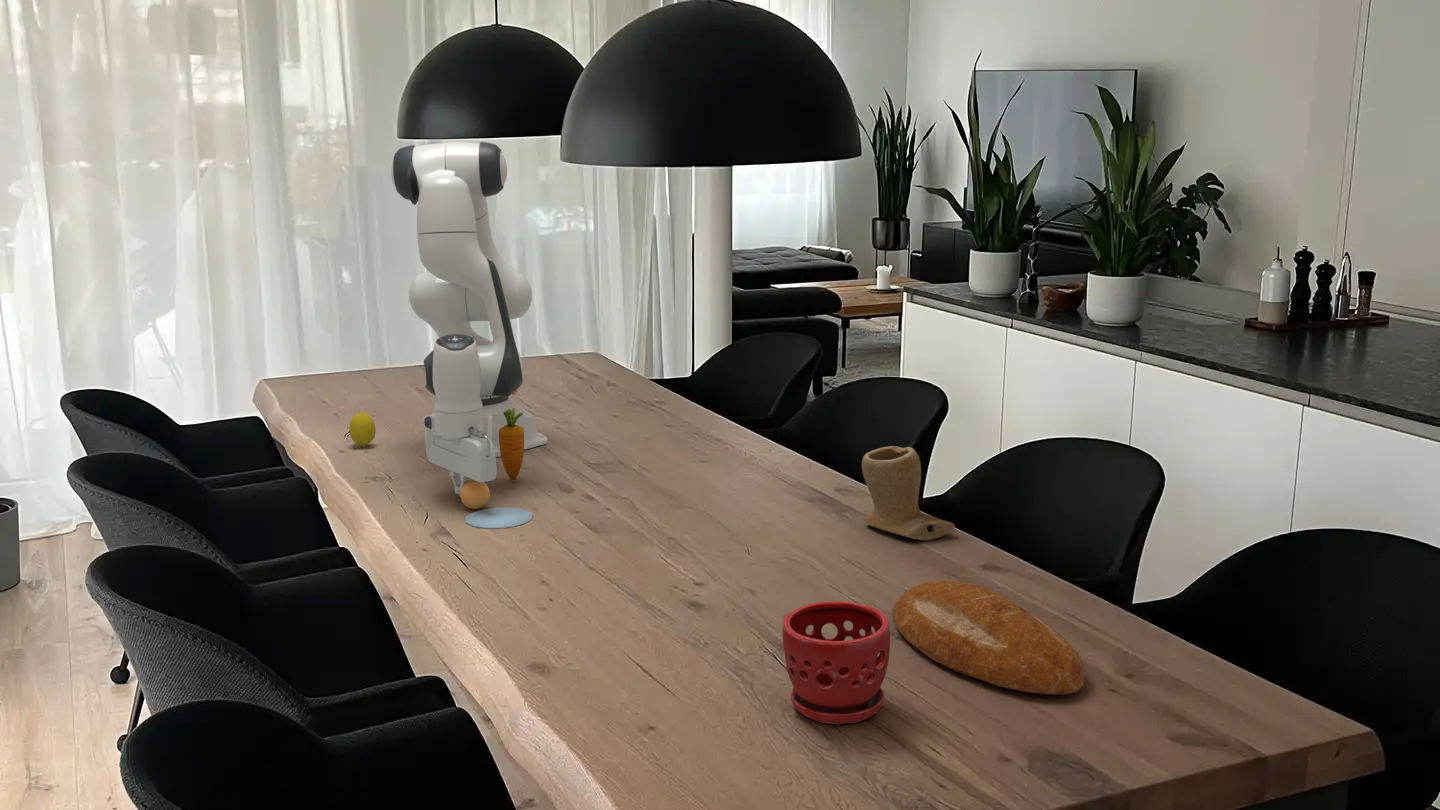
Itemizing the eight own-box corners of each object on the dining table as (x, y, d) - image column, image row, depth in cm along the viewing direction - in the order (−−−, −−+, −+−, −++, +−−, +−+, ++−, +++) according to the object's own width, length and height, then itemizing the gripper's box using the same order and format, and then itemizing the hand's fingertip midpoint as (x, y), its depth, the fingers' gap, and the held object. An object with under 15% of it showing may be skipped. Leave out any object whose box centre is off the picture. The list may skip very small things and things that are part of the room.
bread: (1015, 718, 165) (1018, 651, 163) (856, 622, 196) (857, 564, 194) (1122, 689, 173) (1126, 624, 171) (953, 601, 203) (955, 545, 201)
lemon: (369, 450, 291) (367, 415, 289) (346, 449, 292) (343, 413, 290) (380, 444, 296) (378, 409, 294) (357, 443, 297) (355, 408, 296)
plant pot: (795, 681, 175) (796, 594, 172) (896, 693, 171) (898, 605, 169) (770, 725, 163) (770, 633, 160) (877, 739, 159) (880, 645, 156)
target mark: (509, 504, 252) (509, 503, 252) (545, 519, 243) (545, 518, 243) (453, 517, 244) (452, 516, 244) (487, 533, 235) (487, 532, 235)
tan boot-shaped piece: (846, 527, 237) (848, 445, 234) (897, 515, 244) (899, 435, 241) (904, 550, 225) (906, 464, 222) (956, 537, 232) (959, 453, 228)
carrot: (512, 476, 271) (509, 403, 267) (531, 480, 268) (528, 406, 264) (495, 482, 267) (492, 408, 263) (513, 486, 264) (510, 411, 260)
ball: (483, 472, 251) (497, 489, 248) (478, 495, 254) (492, 512, 250) (458, 476, 248) (471, 493, 244) (452, 499, 250) (466, 517, 247)
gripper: (503, 430, 243) (506, 503, 246) (447, 411, 259) (450, 480, 262) (473, 436, 239) (476, 510, 242) (417, 416, 255) (421, 486, 258)
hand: (462, 494), depth 252 cm, fingers closed
